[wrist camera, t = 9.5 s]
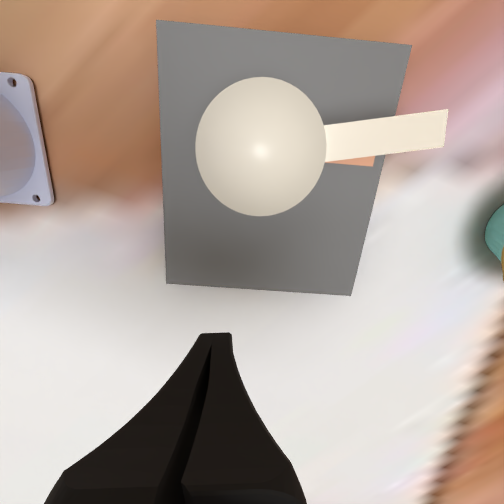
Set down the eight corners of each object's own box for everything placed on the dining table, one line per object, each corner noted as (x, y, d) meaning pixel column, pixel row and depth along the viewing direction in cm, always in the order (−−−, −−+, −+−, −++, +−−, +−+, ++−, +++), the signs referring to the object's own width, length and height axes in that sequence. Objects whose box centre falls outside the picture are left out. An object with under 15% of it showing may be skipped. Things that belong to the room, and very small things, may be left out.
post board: (171, 274, 23) (162, 290, 20) (164, 29, 17) (149, 12, 14) (344, 286, 23) (355, 303, 21) (398, 52, 17) (422, 39, 15)
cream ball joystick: (216, 206, 18) (208, 222, 14) (197, 98, 15) (182, 87, 12) (403, 183, 17) (441, 195, 14) (412, 68, 15) (460, 48, 12)
